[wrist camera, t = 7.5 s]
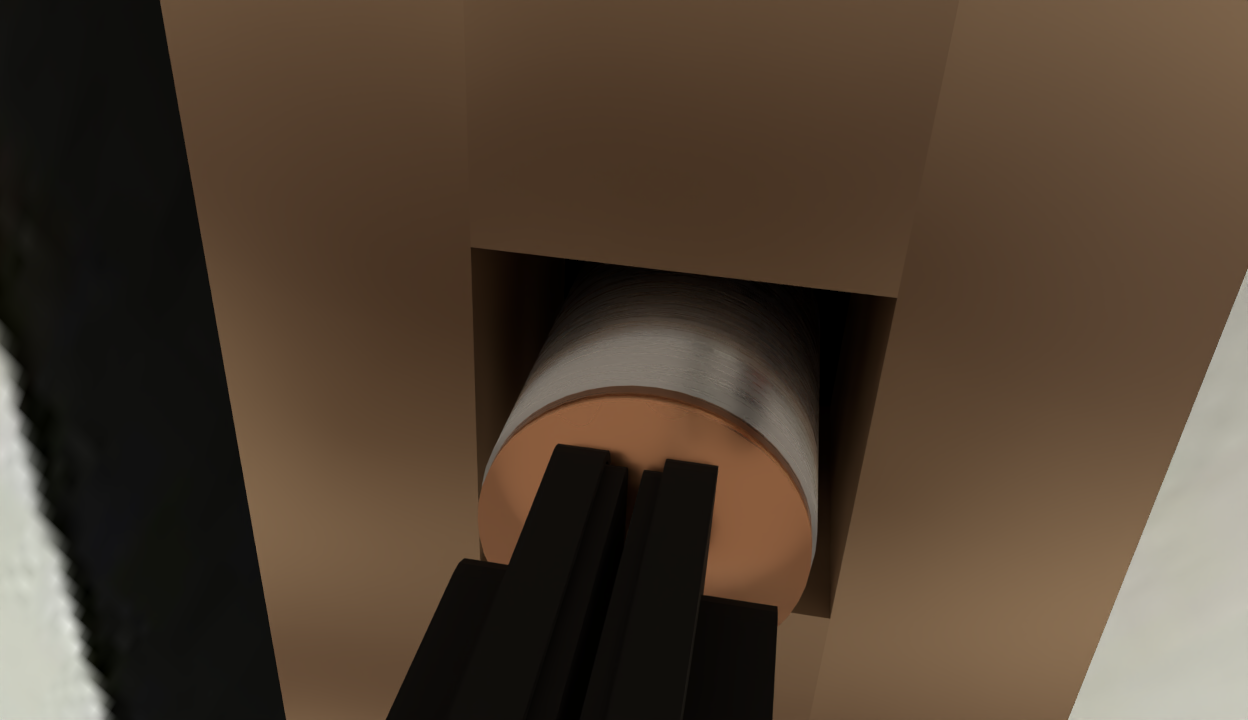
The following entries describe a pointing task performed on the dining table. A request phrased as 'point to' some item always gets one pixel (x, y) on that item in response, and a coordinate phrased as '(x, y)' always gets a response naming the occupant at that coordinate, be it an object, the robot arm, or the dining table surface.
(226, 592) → the dining table surface
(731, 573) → the plunger
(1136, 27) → the socket block
